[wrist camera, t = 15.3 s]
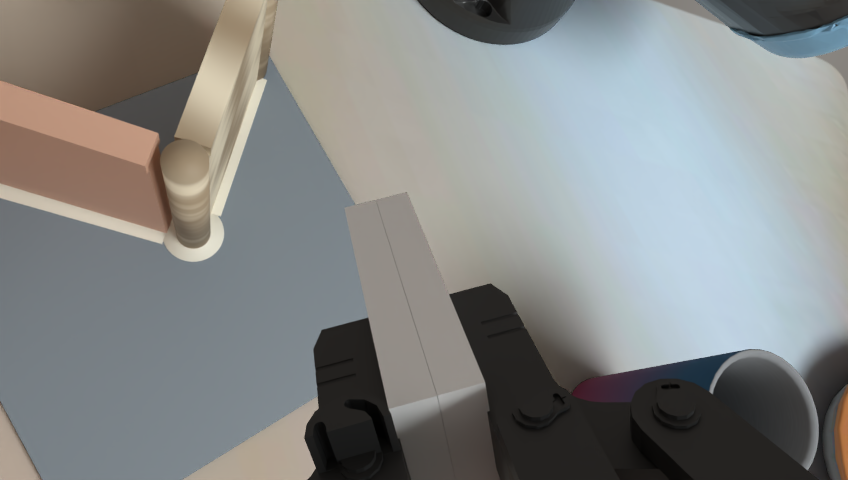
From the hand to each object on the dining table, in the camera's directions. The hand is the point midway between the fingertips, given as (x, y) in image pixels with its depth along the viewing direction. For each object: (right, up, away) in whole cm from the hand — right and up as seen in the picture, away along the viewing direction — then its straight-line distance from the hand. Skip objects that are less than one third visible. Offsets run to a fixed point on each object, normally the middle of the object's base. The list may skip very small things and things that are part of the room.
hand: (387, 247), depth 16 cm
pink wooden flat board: (-21, +3, +22) cm, 31 cm away
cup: (+13, -12, +30) cm, 35 cm away
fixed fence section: (-12, +6, +26) cm, 29 cm away
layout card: (-14, -1, +24) cm, 28 cm away
